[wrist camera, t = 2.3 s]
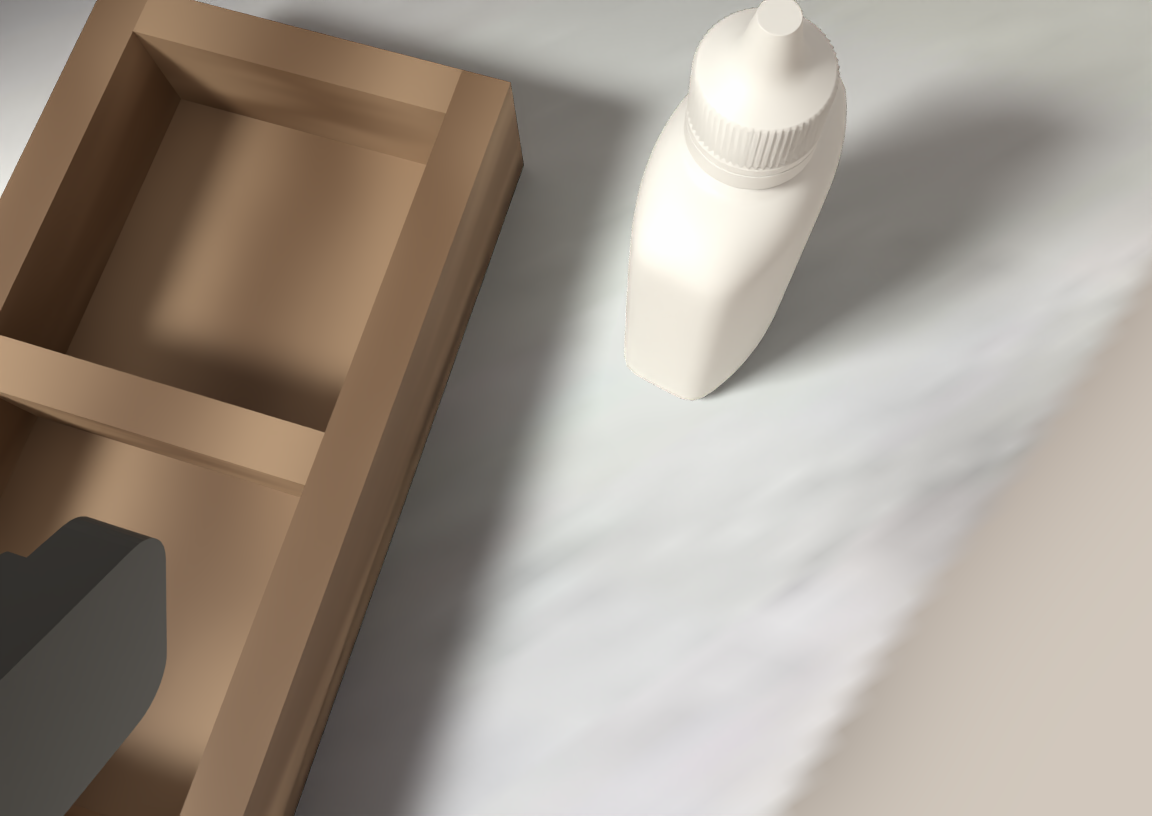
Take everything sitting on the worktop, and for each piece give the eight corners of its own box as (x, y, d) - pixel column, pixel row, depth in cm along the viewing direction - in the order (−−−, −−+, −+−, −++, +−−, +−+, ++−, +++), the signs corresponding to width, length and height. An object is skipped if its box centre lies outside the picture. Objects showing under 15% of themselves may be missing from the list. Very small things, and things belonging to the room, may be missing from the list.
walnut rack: (-348, 1205, 23) (-542, 1308, 19) (172, 71, 30) (107, -23, 26) (105, 1391, 22) (-3, 1541, 18) (534, 167, 29) (522, 85, 25)
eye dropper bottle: (571, 289, 28) (545, -3, 16) (749, 184, 28) (847, -168, 17) (662, 426, 27) (703, 219, 15) (845, 314, 27) (1019, 33, 16)
